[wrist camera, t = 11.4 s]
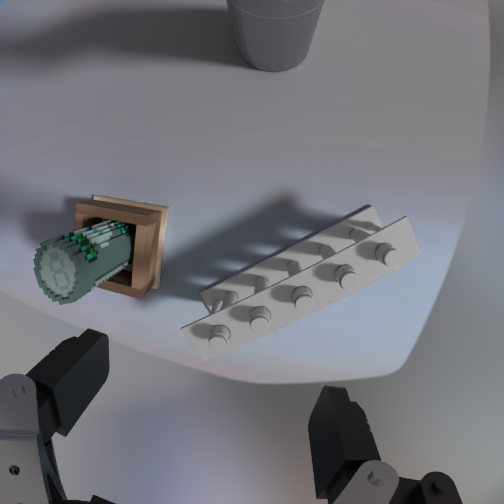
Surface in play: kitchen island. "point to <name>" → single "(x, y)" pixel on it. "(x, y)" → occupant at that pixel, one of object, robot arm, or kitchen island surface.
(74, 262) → the can
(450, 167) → the kitchen island surface
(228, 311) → the test tube rack
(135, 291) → the sleeve holder
